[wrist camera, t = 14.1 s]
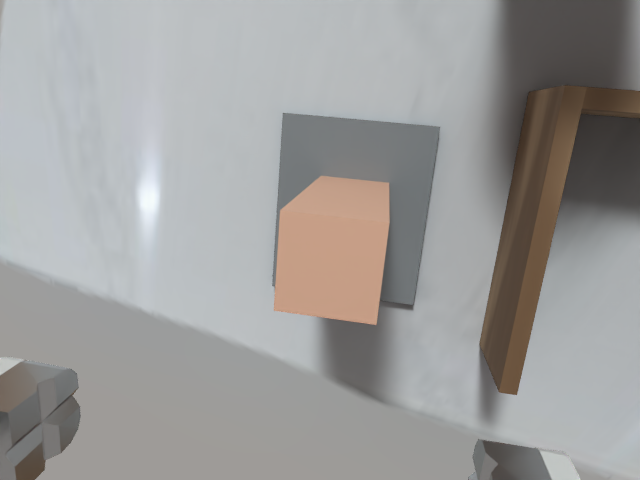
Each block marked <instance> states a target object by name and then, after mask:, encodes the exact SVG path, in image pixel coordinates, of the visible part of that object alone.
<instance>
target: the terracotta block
mask: <svg viewBox="0 0 640 480" xmlns="http://www.w3.org/2000/svg"><path fill="white" fill-rule="evenodd" d="M389 223H390V218H389V183H386V182H377V181H367V180H358V179H348V178H338V177H329V176H320V177H319V178H318V179H317V180H315V181H314V182H313V183H312V184H311V185H309V186H308V187H307V188H306V189H305V190H304V191H302V192H301V193H300V194H299V195H298V196H296V197H295V198H294V199H293V200H292V201H291V202H289V203H288V204H287V205H286V206H285V207H283V208H282V209H281V210H280V220H279V236H278V252H277V268H276V284H275V300H274V311H281V312H288V313H295V314H302V315H309V316H316V317H323V318H331V319H338V320H345V321H352V322H359V323H366V324H373V325H376V324H377V317H378V309H379V301H380V293H381V285H382V278H383V270H384V262H385V254H386V246H387V239H388V231H389Z"/></svg>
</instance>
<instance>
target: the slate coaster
mask: <svg viewBox="0 0 640 480" xmlns="http://www.w3.org/2000/svg"><path fill="white" fill-rule="evenodd" d="M439 130H440V127H436V126H424V125H413V124H402V123H391V122H379V121H368V120H357V119H346V118H334V117H323V116H312V115H301V114H289V113H283V120H282V137H281V153H280V169H279V186H278V202H277V219H276V235H275V251H274V268H273V284H272V286H275V284H276V268H277V252H278V236H279V220H280V210H281V209H282V208H283V207H285V206H286V205H287V204H288V203H289V202H291V201H292V200H293V199H294V198H295V197H296V196H298V195H299V194H300V193H301V192H302V191H304V190H305V189H306V188H307V187H308V186H309V185H311V184H312V183H313V182H314V181H315V180H317V179H318V178H319V177H320V176H329V177H338V178H348V179H358V180H367V181H377V182H386V183H389V218H390V223H389V231H388V239H387V246H386V254H385V262H384V270H383V278H382V285H381V293H380V301H387V302H395V303H402V304H410V305H413V304H414V297H415V290H416V284H417V277H418V270H419V264H420V257H421V250H422V244H423V237H424V230H425V224H426V217H427V210H428V204H429V197H430V190H431V184H432V177H433V170H434V164H435V157H436V150H437V144H438V137H439Z"/></svg>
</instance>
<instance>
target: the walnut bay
mask: <svg viewBox="0 0 640 480" xmlns="http://www.w3.org/2000/svg"><path fill="white" fill-rule="evenodd" d="M581 114H591V115H603V116H615V117H627V118H639V119H640V91H634V90H621V89H608V88H595V87H582V86H568V85H564V86H558V87H553V88H548V89H542V90H537V91H532V92H529V94H528V99H527V104H526V109H525V114H524V120H523V125H522V130H521V135H520V140H519V145H518V150H517V155H516V160H515V165H514V171H513V176H512V181H511V186H510V191H509V196H508V201H507V206H506V211H505V216H504V222H503V227H502V232H501V237H500V242H499V247H498V252H497V257H496V262H495V267H494V273H493V278H492V283H491V288H490V293H489V298H488V303H487V308H486V313H485V318H484V324H483V329H482V334H481V339H480V346H481V349H482V351H483V354H484V356H485V359H486V361H487V364H488V366H489V369H490V371H491V374H492V376H493V379H494V381H495V384H496V386H497V389H498V391H499V392H500V393H507V394H513V395H517V392H518V387H519V383H520V379H521V374H522V370H523V365H524V361H525V357H526V352H527V348H528V344H529V339H530V335H531V330H532V326H533V322H534V317H535V313H536V308H537V304H538V300H539V295H540V291H541V286H542V282H543V278H544V273H545V269H546V264H547V260H548V256H549V251H550V247H551V242H552V238H553V234H554V229H555V225H556V220H557V216H558V212H559V207H560V203H561V198H562V194H563V190H564V185H565V181H566V176H567V172H568V168H569V163H570V159H571V154H572V150H573V146H574V141H575V137H576V132H577V128H578V124H579V119H580V115H581Z"/></svg>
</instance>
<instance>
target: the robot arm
mask: <svg viewBox="0 0 640 480" xmlns="http://www.w3.org/2000/svg"><path fill="white" fill-rule="evenodd" d="M77 389H78V379H77V373H76V372H75V371H73V370H72V369H70V368H65V367H59V366H55V365H50V364H45V363H39V362H35V361H27V360H24V359H18V358H12V357H2V358H0V480H35V479H36V478H37V477H38V476H39V475H40V474H41V473H42V472H43V471H44V470H45V461H46V460H47V459H49V458H52V457H54V456H56V455H58V454H60V453H62V451H63V450H65V448H66V447H67V446H68V445H69V444H70V443H71V441H72V440H73V437H74V436H75V434H76V432H77V430H78V426H79V422H80V406H79V404H78V403H77V401H76V400H75V398H74V397H73V396H72V395H73V394H74V393H75V392H76V390H77ZM473 460H474V465H475V470H476V472H474V473H473V474H472V475H471V476H469V477H468V480H581V479H580V477H579V475H578V473H577V471H576V469H575V467H574V465H573V463H572V462H571V460H570V458H569V456H568V455H567V454H566V453H565V452H563V451H556V450H549V449H542V448H529V447H523V446H517V445H511V444H505V443H499V442H493V441H487V440H481V439H478V441H477V443H476V445H475V449H474V454H473Z"/></svg>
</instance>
